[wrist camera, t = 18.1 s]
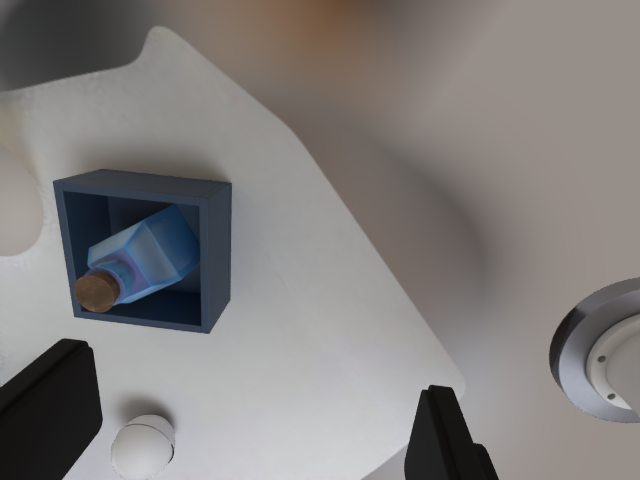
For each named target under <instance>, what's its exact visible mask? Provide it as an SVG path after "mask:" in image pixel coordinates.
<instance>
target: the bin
mask: <svg viewBox="0 0 640 480" xmlns="http://www.w3.org/2000/svg"><path fill="white" fill-rule="evenodd" d="M53 186H54V192H55V198H56V205H57V211H58V217H59V223H60V230H61V236H62V242H63V249H64V255H65V261H66V268H67V274H68V280H69V287H70V293H71V299H72V306H73V312H74V317H78V318H85V319H93V320H101V321H109V322H117V323H125V324H133V325H141V326H149V327H157V328H165V329H173V330H181V331H189V332H197V333H201V332H202V333H206V334H209V333H210V332H211V330H212V328H213V327H214V325H215V324H216V322H217V320H218V319H219V317H220V315H221V314H222V312H223V311H224V309H225V307H226V306H227V304H228V303H229V301H230V278H231V196H232V183H226V182H217V181H208V180H199V179H190V178H181V177H172V176H163V175H154V174H145V173H136V172H127V171H118V170H109V169H100V170H96V171H92V172H88V173H84V174H80V175H76V176H72V177H68V178H63V179H59V180H55V181H53ZM173 204H176V206H177V207H178V209H179V211H180V212H181V214H182V215H183V217H184V219H185V220H186V222H187V224H188V225H189V227H190V228H191V230H192V232H193V233H194V235H195V236H196V238H197V240H198V241H199V243H200V261H199V262H198V263H197V265H196V266H195V267H194V268H193V269H192V270H191V271H190V272H189V273H188V274H187V275H186V276H185V277H184V278H183V279H182V280H180V281H178V282H175V283H173V284H171V285H169V286H166V287H164V288H162V289H160V290H158V291H155V292H153V293H151V294H149V295H147V296H144V297H142V298H140V299H138V300H135V301H133V302H131V303H119V304H117V305H114V306H112V307H111V308H110V309H109V310H107V311H105V312H101V313H100V312H93V311H90V310H88V309H86V308H84V307H83V306H82V305H81V304H80V303H79V302H78V300H77V299H76V297H75V293H74V285H75V283H76V281H77V280H78V279H80V278H81V277H84V276H85V274H86V272H88V271H89V270H90V268H89V266H88V265H87V264H88V253H89V248H90V247H92V246H94V245H96V244H98V243H100V242H101V241H103V240H105V239H107V238H109V237H111V236H113V235H114V234H116V233H118V232H120V231H122V230H124V229H126V228H127V227H129V226H131V225H133V224H135V223H137V222H139V221H141V220H143V219H145V218H147V217H149V216H151V215H153V214H155V213H157V212H159V211H161V210H163V209H165V208H167V207H169V206H171V205H173Z"/></svg>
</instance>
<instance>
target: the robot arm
mask: <svg viewBox="0 0 640 480" xmlns="http://www.w3.org/2000/svg"><path fill="white" fill-rule="evenodd" d="M586 373H587V377H588V380H589V382H590V384H591V386H592V387H593V389H594V390H595V391H596V392H597V393H598V394H599V395H600V396H601V397H602V398H603V399H604V400H605V401H607V402H609V403H611V404H613V405H615V406H618V407H621V408H624V409H632V410H633V411H634V412H635V413H636V414H637V415H638V416H639V417H640V314H638V315H635V316H632V317H629V318H627V319H625V320H623V321H621V322H619V323H617V324H615V325H614V326H613V327H611V328H610V329H608V330H607V331H606V332H605V333H604V334H603V335H602V336H601V337H600V338H599V339H598V340H597V342H596V343H595V344H594V346H593V347H592V349H591V351H590V353H589V355H588V359H587V364H586ZM102 421H103V417H102V410H101V403H100V396H99V389H98V382H97V375H96V368H95V361H94V354H93V349H92V348H91V347H89V346H88V343H87V342H86V341H82V340H74V339H66V338H65V339H61V340H60V341H58V342H57V343H56V344H54V345H53V346H52V347H51V348H49V349H48V350H47V351H46V352H44V353H43V354H42V355H41V356H39V357H38V358H37V359H36V360H34V361H33V362H32V363H31V364H29V365H28V366H27V367H26V368H24V369H23V370H22V371H21V372H19V373H18V374H17V375H16V376H14V377H13V378H12V379H11V380H10V381H8V382H7V383H6V384H5V385H3V386H2V387H1V388H0V480H62V479H63V478H64V476H65V475H66V474H67V473H68V471H69V470H70V469H71V467H72V466H73V465H74V463H75V462H76V461H77V460H78V458H79V457H80V456H81V454H82V453H83V452H84V450H85V449H86V448H87V447H88V445H89V444H90V443H91V441H92V440H93V439H94V437H95V436H96V435H97V434H98V432H99V430H100V428H101V426H102ZM404 471H405V478H406V480H499V479H498V476H497V474H496V471H495V469H494V467H493V464H492V462H491V459H490V457H489V454H488V452H487V450H486V448H485V447H484V446H483V445H482V444H476V443H473V441H472V438H471V435H470V433H469V430H468V427H467V425H466V422H465V419H464V417H463V414H462V412H461V409H460V406H459V404H458V401H457V398H456V396H455V393H454V391H453V389H452V388H451V387H444V386H436V385H430V386H429V388H428V390H422V392H421V395H420V399H419V403H418V407H417V412H416V416H415V420H414V424H413V428H412V432H411V437H410V441H409V445H408V449H407V453H406V457H405V465H404Z"/></svg>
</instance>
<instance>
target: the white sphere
mask: <svg viewBox="0 0 640 480" xmlns="http://www.w3.org/2000/svg"><path fill="white" fill-rule="evenodd" d="M162 417H163V416H162ZM162 417H160V416H157V415H142V416H139V417H137V418H135V419H133V420H131V421H129V422H128V423H127V424H126V425H125V426H124V427H123V428H122V429H121V430H120V431H119V432H118V434H117V436H116V438H115V440H114V442H113V444H112V448H111V462H112V465H113V468H114V470H115V472H116V473H117V474H118V475H119V476H120V477H122V478H123V479H125V480H147V479H150V478H152V477H154V476H155V475H156V474H158V473H159V472H160V471H162V470H163V469H164V468H165V466H166V465H167V464H168V463H169V462H170V461H171V460H172V458H173V455H174V449H175V433H174V430H173V428H172V427H171V425H170V424H169V422H168V421H167V420H165V419H164V418H162Z"/></svg>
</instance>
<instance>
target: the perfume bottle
mask: <svg viewBox="0 0 640 480" xmlns="http://www.w3.org/2000/svg"><path fill="white" fill-rule="evenodd" d="M199 261H200V243H199V241H198V240H197V238H196V236H195V235H194V233H193V232H192V230H191V228H190V227H189V225H188V224H187V222H186V220H185V219H184V217H183V215H182V214H181V212H180V211H179V209H178V207H177V206H176V204H173V205H171V206H169V207H167V208H165V209H163V210H161V211H159V212H157V213H155V214H153V215H151V216H149V217H147V218H145V219H143V220H141V221H139V222H137V223H135V224H133V225H131V226H129V227H127V228H126V229H124V230H122V231H120V232H118V233H116V234H114V235H113V236H111V237H109V238H107V239H105V240H103V241H101V242H100V243H98V244H96V245H94V246H92V247H90V248H89V253H88V264H87V265H88V266H89V268H90V270H89V271H88V272H86V274H85V276H84V277H81V278H80V279H78V280H77V281H76V283H75V285H74V293H75V297H76V299H77V300H78V302H79V303H80V304H81V305H82V306H83V307H84V308H86V309H88V310H90V311H93V312H100V313H101V312H105V311H107V310H109V309H110V308H111V307H112V306H114V305H117V304H119V303H131V302H133V301H135V300H138V299H140V298H142V297H144V296H147V295H149V294H151V293H153V292H155V291H158V290H160V289H162V288H164V287H166V286H169V285H171V284H173V283H175V282H178V281H180V280H182V279H183V278H184V277H185V276H186V275H187V274H188V273H189V272H190V271H191V270H192V269H193V268H194V267H195V266H196V265H197V263H198V262H199Z"/></svg>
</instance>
